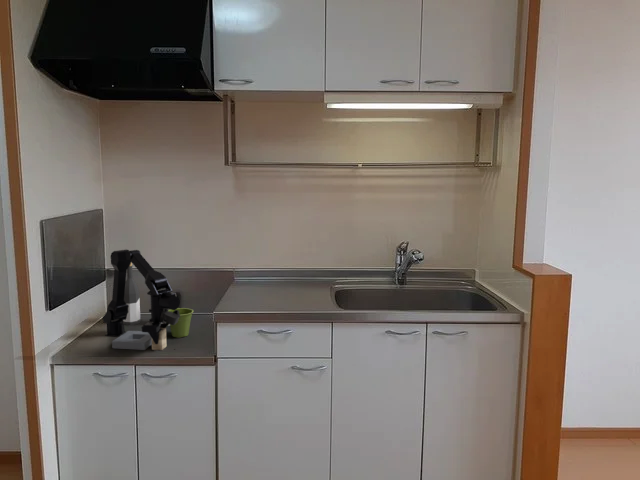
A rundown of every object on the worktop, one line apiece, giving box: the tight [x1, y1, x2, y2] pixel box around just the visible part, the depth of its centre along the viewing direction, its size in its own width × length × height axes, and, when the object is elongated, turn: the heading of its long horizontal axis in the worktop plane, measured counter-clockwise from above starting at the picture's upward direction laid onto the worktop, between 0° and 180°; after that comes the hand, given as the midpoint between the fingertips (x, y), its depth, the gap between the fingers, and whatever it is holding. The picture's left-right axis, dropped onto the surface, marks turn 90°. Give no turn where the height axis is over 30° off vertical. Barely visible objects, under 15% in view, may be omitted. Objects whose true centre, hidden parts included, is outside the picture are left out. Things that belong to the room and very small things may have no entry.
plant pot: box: [168, 307, 194, 338], centre depth 212 cm, size 12×12×11 cm
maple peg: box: [151, 327, 168, 351], centre depth 196 cm, size 4×4×8 cm
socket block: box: [111, 330, 152, 351], centre depth 201 cm, size 14×14×3 cm
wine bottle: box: [123, 262, 141, 326], centre depth 228 cm, size 8×8×30 cm
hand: (159, 342), depth 196 cm, fingers closed on maple peg, 4 cm apart
